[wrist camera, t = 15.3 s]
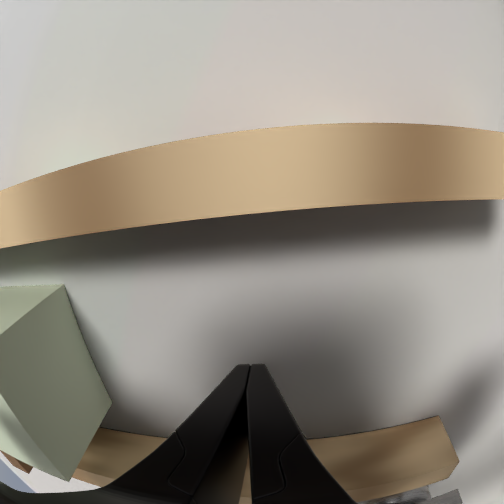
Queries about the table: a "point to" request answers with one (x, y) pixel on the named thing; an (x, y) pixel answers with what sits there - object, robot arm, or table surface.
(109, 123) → the table surface
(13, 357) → the pale green block
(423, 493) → the grey square pedestal
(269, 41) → the table surface
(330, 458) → the bay
